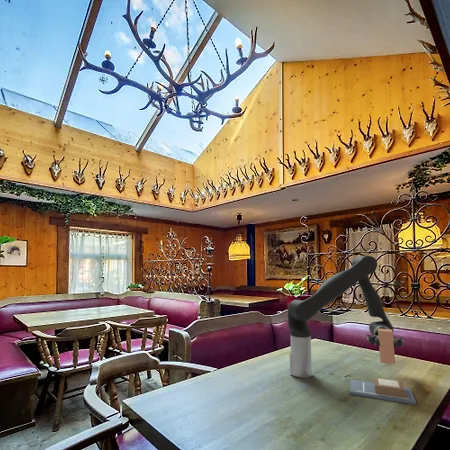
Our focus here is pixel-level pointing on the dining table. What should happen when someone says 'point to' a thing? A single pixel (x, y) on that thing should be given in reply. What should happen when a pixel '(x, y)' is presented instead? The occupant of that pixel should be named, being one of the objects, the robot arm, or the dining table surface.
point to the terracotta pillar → (386, 346)
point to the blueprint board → (371, 390)
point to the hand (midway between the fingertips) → (386, 344)
